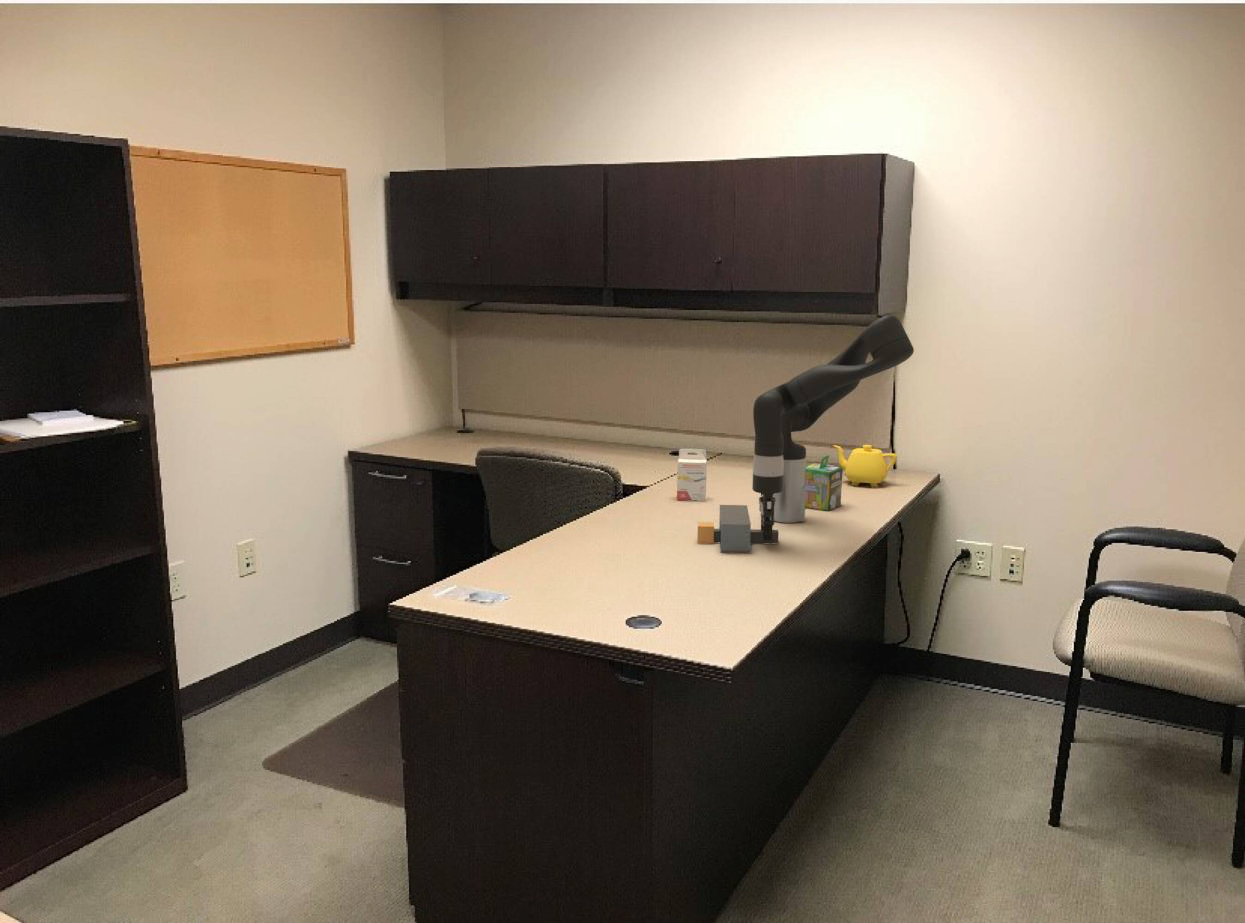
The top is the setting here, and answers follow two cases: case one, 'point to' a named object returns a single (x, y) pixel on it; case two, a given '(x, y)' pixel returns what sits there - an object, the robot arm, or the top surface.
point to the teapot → (866, 465)
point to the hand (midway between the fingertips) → (766, 535)
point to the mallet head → (734, 528)
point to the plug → (713, 535)
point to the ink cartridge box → (691, 475)
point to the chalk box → (823, 485)
